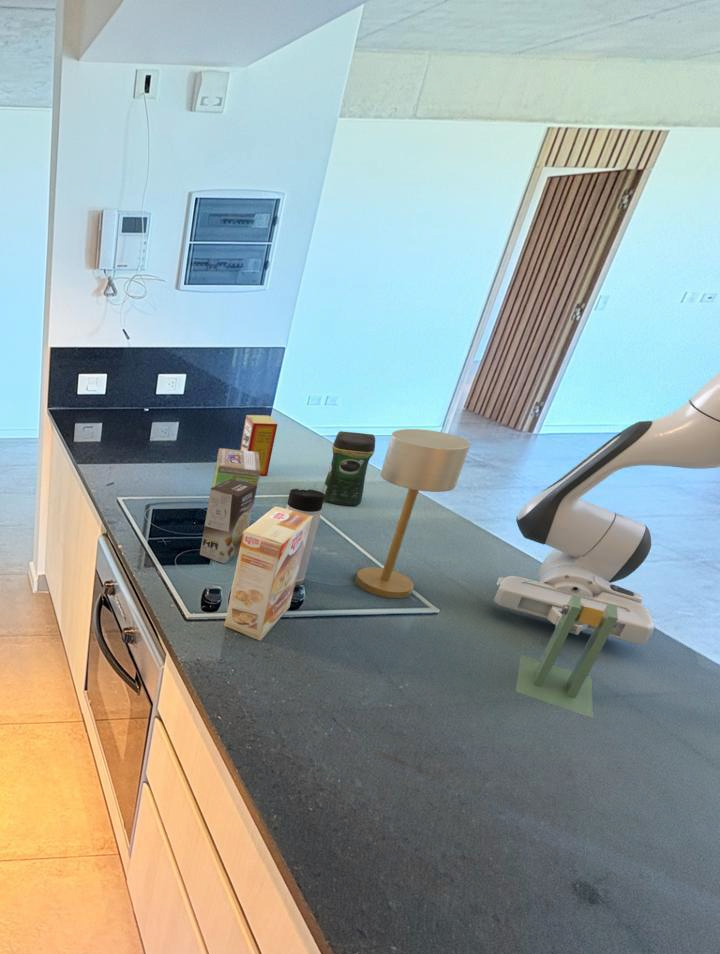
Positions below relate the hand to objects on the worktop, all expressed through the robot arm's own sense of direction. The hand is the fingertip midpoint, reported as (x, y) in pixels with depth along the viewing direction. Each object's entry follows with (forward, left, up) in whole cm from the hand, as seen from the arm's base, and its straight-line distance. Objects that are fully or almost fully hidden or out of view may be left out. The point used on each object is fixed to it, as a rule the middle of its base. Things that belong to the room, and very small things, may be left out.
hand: (568, 628), depth 101 cm
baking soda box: (+4, -94, -6) cm, 94 cm away
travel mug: (+30, -31, -6) cm, 43 cm away
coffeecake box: (+43, -19, -6) cm, 47 cm away
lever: (+5, +4, +4) cm, 8 cm away
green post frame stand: (+8, +7, -6) cm, 12 cm away
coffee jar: (-7, -68, -6) cm, 69 cm away
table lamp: (+12, -26, -6) cm, 29 cm away
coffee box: (+38, -44, -6) cm, 58 cm away
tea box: (+26, -65, -6) cm, 70 cm away
